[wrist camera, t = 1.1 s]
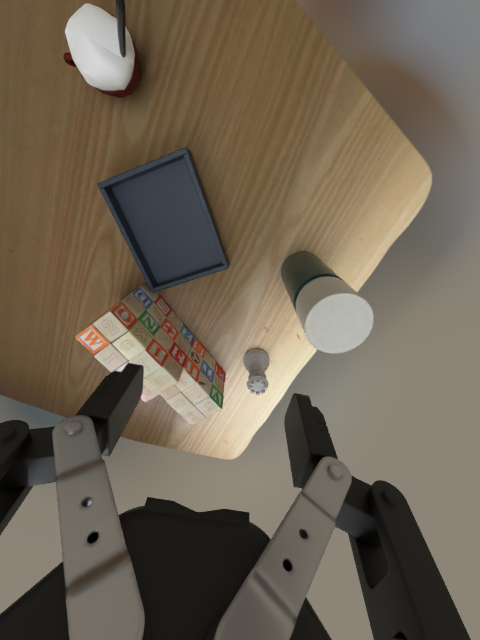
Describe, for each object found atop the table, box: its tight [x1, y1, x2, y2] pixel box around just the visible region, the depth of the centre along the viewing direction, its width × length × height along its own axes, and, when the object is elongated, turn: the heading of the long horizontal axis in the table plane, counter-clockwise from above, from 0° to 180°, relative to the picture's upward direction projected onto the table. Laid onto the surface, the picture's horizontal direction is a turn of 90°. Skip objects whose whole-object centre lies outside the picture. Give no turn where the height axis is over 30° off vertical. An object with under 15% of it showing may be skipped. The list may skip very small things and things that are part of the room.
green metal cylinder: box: [281, 251, 342, 311], centre depth 33 cm, size 6×6×13 cm
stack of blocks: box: [75, 282, 226, 425], centre depth 39 cm, size 21×6×12 cm, turn 35°
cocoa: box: [64, 0, 141, 97], centre depth 24 cm, size 10×6×12 cm, turn 68°
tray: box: [97, 147, 230, 293], centre depth 36 cm, size 15×12×2 cm
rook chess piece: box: [244, 349, 269, 395], centre depth 43 cm, size 4×4×8 cm
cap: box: [296, 276, 374, 353], centre depth 25 cm, size 6×6×5 cm
